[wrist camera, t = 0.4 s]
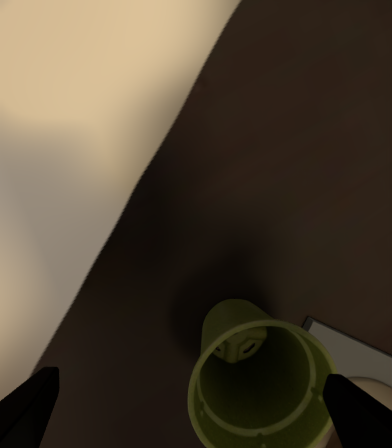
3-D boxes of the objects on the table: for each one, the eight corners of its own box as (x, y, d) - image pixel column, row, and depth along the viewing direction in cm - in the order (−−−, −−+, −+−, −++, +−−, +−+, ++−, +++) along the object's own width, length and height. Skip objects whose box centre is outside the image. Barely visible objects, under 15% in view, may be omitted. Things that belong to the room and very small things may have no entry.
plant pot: (240, 259, 23) (276, 288, 15) (302, 331, 24) (370, 400, 15) (164, 324, 23) (154, 393, 14) (228, 395, 24) (256, 500, 15)
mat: (379, 540, 26) (387, 553, 25) (225, 479, 24) (227, 491, 23) (459, 387, 25) (470, 394, 24) (308, 316, 24) (313, 321, 23)
